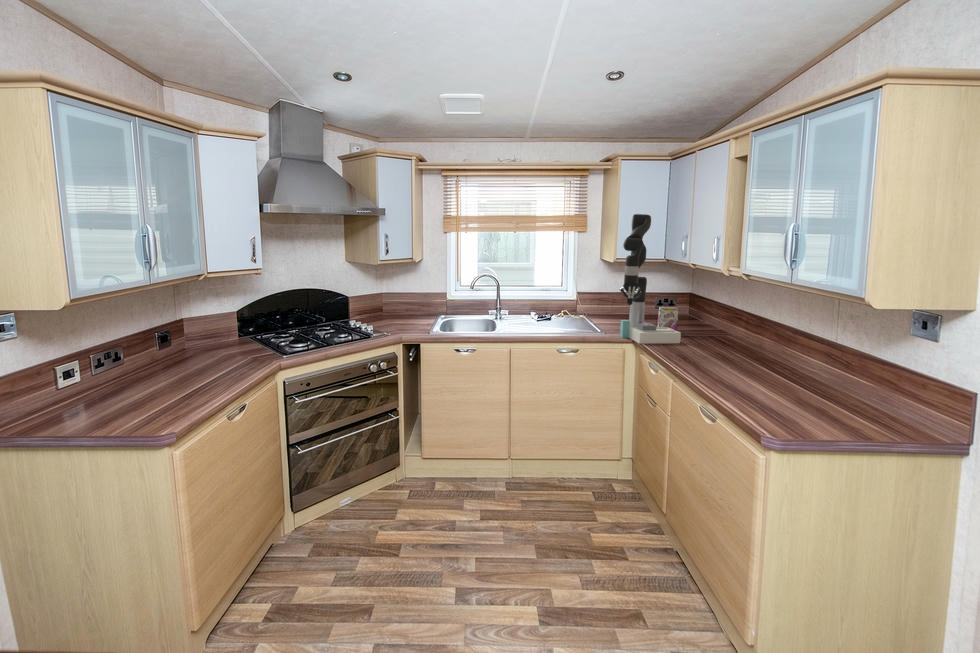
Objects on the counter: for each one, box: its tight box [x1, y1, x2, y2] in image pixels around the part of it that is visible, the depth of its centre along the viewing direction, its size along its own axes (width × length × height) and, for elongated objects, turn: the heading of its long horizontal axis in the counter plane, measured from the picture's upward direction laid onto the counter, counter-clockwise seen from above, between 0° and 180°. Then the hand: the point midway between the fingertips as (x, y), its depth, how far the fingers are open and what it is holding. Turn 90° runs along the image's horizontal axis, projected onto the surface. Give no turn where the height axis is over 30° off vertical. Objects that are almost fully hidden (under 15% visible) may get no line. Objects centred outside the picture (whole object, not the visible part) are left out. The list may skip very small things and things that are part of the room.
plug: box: [619, 319, 630, 339], centre depth 307 cm, size 4×4×10 cm
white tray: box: [628, 326, 682, 345], centre depth 299 cm, size 16×24×7 cm, turn 96°
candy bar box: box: [656, 306, 680, 331], centre depth 320 cm, size 11×5×16 cm, turn 84°
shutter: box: [637, 321, 657, 331], centre depth 298 cm, size 8×8×4 cm
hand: (629, 304), depth 294 cm, fingers closed
